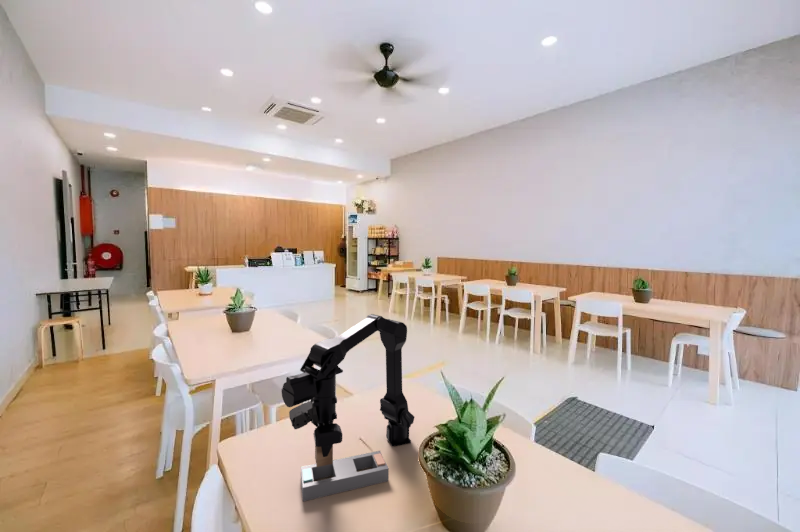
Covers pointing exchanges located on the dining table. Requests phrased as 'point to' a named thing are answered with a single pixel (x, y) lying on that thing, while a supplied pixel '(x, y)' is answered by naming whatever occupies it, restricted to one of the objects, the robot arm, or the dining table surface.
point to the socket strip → (343, 475)
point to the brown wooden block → (323, 460)
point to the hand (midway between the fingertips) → (324, 451)
